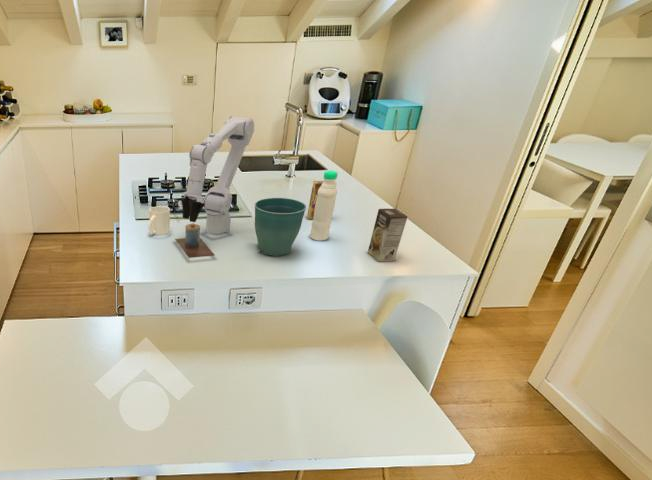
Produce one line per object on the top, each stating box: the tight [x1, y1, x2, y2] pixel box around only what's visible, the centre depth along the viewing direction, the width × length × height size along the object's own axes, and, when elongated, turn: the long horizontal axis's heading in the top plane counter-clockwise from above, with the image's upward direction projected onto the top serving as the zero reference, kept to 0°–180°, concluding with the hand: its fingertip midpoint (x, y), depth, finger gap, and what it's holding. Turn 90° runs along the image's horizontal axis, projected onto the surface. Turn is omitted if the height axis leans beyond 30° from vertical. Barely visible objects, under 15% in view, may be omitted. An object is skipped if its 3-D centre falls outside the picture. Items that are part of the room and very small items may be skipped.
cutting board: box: [174, 236, 215, 259], centre depth 192 cm, size 20×10×2 cm, turn 12°
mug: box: [148, 205, 171, 236], centre depth 203 cm, size 12×8×10 cm
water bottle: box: [309, 170, 338, 241], centre depth 194 cm, size 7×7×25 cm
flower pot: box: [254, 197, 307, 256], centre depth 186 cm, size 18×18×17 cm
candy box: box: [306, 180, 337, 220], centre depth 216 cm, size 9×4×15 cm, turn 86°
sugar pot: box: [184, 223, 201, 246], centre depth 192 cm, size 6×6×8 cm
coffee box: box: [367, 208, 408, 262], centre depth 180 cm, size 9×6×16 cm
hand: (189, 220), depth 188 cm, fingers open, 7 cm apart
